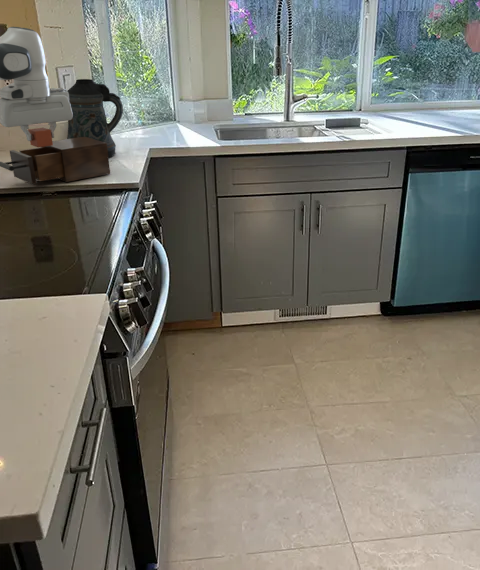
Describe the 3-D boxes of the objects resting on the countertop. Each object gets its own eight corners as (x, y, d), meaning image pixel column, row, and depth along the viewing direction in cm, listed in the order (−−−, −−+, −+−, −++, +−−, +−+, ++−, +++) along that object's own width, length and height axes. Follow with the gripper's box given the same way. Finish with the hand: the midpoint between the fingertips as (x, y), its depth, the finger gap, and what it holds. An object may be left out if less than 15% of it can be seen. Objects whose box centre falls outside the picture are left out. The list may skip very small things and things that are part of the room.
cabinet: (66, 181, 175) (61, 149, 171) (45, 173, 183) (40, 142, 179) (110, 173, 186) (106, 143, 181) (89, 166, 193) (85, 136, 189)
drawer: (16, 187, 165) (10, 159, 162) (-3, 179, 172) (-8, 152, 169) (76, 176, 178) (73, 150, 175) (57, 169, 185) (53, 144, 181)
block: (38, 147, 170) (35, 131, 168) (30, 144, 173) (27, 129, 171) (53, 145, 173) (50, 129, 171) (45, 142, 176) (43, 127, 174)
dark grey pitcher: (58, 154, 206) (45, 79, 195) (110, 145, 219) (100, 74, 208) (80, 163, 196) (67, 84, 185) (133, 154, 208) (124, 80, 197)
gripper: (62, 86, 175) (68, 133, 181) (-10, 91, 161) (0, 142, 167) (73, 88, 172) (79, 136, 177) (1, 93, 157) (10, 145, 163)
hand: (40, 139), depth 172 cm, fingers closed on block, 4 cm apart
